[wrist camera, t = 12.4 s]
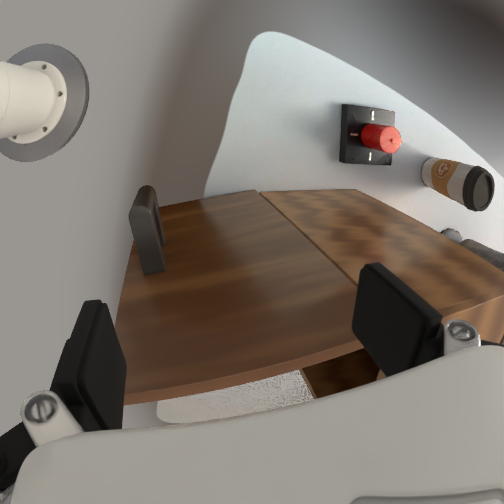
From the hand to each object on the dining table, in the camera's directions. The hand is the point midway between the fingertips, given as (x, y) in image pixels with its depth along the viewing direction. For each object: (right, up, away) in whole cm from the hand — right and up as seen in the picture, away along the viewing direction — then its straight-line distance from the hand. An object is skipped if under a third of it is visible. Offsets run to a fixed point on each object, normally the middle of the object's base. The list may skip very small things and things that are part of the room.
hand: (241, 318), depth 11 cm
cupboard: (+10, +5, +45) cm, 46 cm away
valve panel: (+20, +23, +39) cm, 50 cm away
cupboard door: (-8, +13, +36) cm, 39 cm away
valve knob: (+21, +22, +37) cm, 48 cm away
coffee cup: (+37, +19, +46) cm, 62 cm away
